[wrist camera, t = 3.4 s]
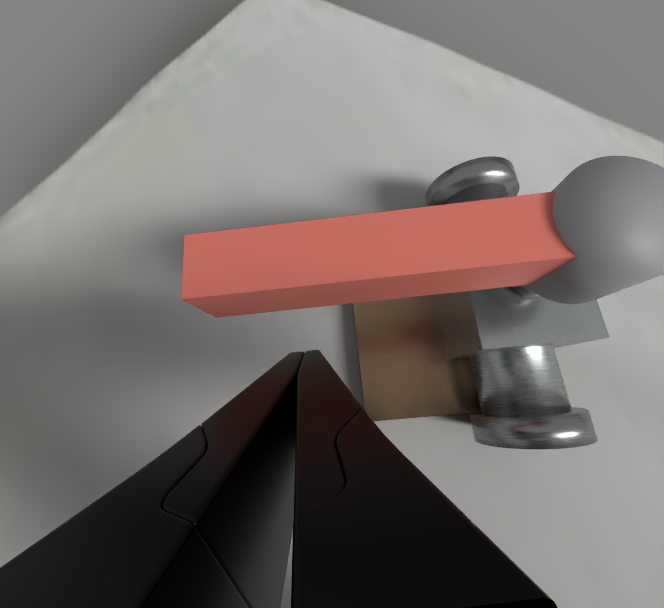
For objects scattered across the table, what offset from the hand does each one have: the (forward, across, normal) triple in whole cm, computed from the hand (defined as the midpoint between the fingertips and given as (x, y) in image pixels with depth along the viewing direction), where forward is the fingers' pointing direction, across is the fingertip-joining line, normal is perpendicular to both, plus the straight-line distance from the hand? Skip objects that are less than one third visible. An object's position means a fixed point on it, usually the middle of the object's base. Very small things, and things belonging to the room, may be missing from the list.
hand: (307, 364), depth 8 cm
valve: (+7, +6, -3) cm, 10 cm away
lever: (+2, +4, +1) cm, 4 cm away
